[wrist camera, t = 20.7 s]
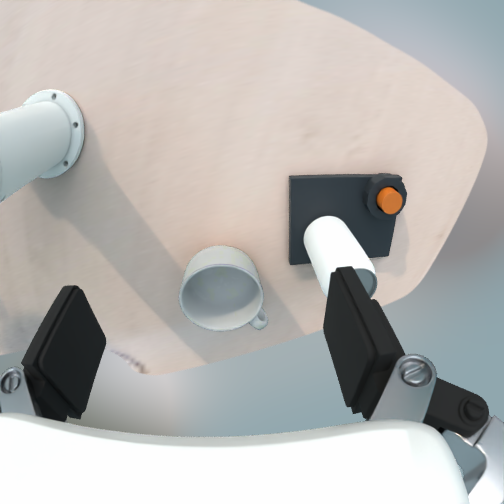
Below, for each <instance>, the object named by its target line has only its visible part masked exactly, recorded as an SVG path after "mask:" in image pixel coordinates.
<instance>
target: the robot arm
mask: <svg viewBox="0 0 504 504" xmlns="http://www.w3.org/2000/svg"><path fill="white" fill-rule="evenodd" d="M56 95H57V97H56ZM77 123H78V125H77ZM83 140H84V122H83V118H82V114H81V111H80V109H79V107H78V105H77V104H76V102H75V101H74V100H73V99H72V98H71V97H70V96H69V95H68V94H66V93H64V92H62V91H59V90H55V89H52V90H44V91H40V92H38V93H35V94H34V95H32V96H31V97H29V98H28V99H27V100H26V101H25V103H24V104H23V105H22V107H19V108H15V109H11V110H8V111H4V112H1V113H0V203H1V202H3V201H4V200H5V199H7V198H8V197H9V196H11V195H12V194H13V193H15V192H16V191H18V190H19V189H20V188H22V187H23V186H25V185H26V184H28V183H29V182H31V181H32V180H34V179H35V178H37V177H40V178H54V177H56V176H59V175H61V174H62V173H64V172H66V171H67V170H68V169H69V168H70V167H71V166H72V165H73V164H74V163H75V162H76V160H77V158H78V156H79V154H80V152H81V149H82V146H83ZM323 329H324V334H325V338H326V341H327V344H328V347H329V351H330V354H331V357H332V360H333V364H334V367H335V370H336V374H337V377H338V380H339V384H340V387H341V391H342V394H343V397H344V401H345V404H346V406H347V407H351V409H352V412H353V414H356V413H360V412H362V415H363V418H365V419H366V420H365V421H363V422H356V423H350V424H343V425H336V426H330V427H324V428H318V429H311V430H303V431H295V432H286V433H277V434H266V435H252V436H233V437H178V436H159V435H146V434H135V433H126V432H118V431H109V430H103V429H97V428H91V427H85V426H80V425H75V424H70V423H68V422H67V420H66V419H67V415H68V416H69V417H70V418H76V419H81V415H82V413H83V412H84V411H85V410H86V406H87V403H88V399H89V396H90V392H91V389H92V386H93V382H94V379H95V376H96V373H97V370H98V367H99V364H100V360H101V358H102V354H103V352H104V349H105V346H106V337H105V335H104V333H103V331H102V329H101V327H100V325H99V323H98V321H97V319H96V317H95V315H94V313H93V311H92V309H91V307H90V305H89V303H88V301H87V298H86V296H85V294H84V292H83V290H82V289H80V288H79V287H78V286H76V285H73V286H64V287H63V288H62V289H61V291H60V293H59V294H58V296H57V298H56V299H55V301H54V303H53V304H52V306H51V308H50V309H49V311H48V313H47V315H46V316H45V318H44V320H43V322H42V323H41V325H40V327H39V329H38V331H37V333H36V334H35V336H34V338H33V340H32V342H31V344H30V346H29V348H28V350H27V352H26V354H25V356H24V358H23V360H22V362H21V364H22V365H23V366H24V369H23V370H22V369H21V368H19V367H11V368H8V369H7V370H6V371H4V372H3V373H2V375H1V376H0V504H502V503H503V502H504V422H502V421H501V420H500V419H499V418H497V417H496V416H495V415H494V416H493V417H491V416H490V415H489V409H488V406H487V404H486V402H485V401H484V399H483V398H482V397H480V396H478V395H477V394H474V393H472V392H470V391H467V390H465V389H463V388H460V387H458V386H455V385H453V384H451V383H448V382H446V381H444V380H441V379H439V378H437V373H436V369H435V366H434V365H433V363H432V362H431V361H430V360H429V359H428V358H426V357H424V356H422V355H418V354H408V355H405V353H404V351H403V349H402V347H401V345H400V343H399V341H398V339H397V337H396V335H395V333H394V331H393V329H392V327H391V325H390V323H389V321H388V319H387V318H386V316H385V314H384V312H383V310H382V308H381V306H380V305H379V303H378V302H377V300H375V299H372V300H371V299H370V297H369V295H368V293H367V291H366V289H365V288H364V286H363V284H362V282H361V280H360V278H359V277H358V275H357V273H356V271H355V270H354V268H353V267H352V266H345V267H337V268H336V270H335V272H331V275H330V282H329V290H328V297H327V304H326V311H325V318H324V324H323ZM455 459H456V460H455ZM458 465H459V466H460V467H461V469H462V470H463V474H464V478H462V475H461V472H460V469H459V467H458Z"/></svg>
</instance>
